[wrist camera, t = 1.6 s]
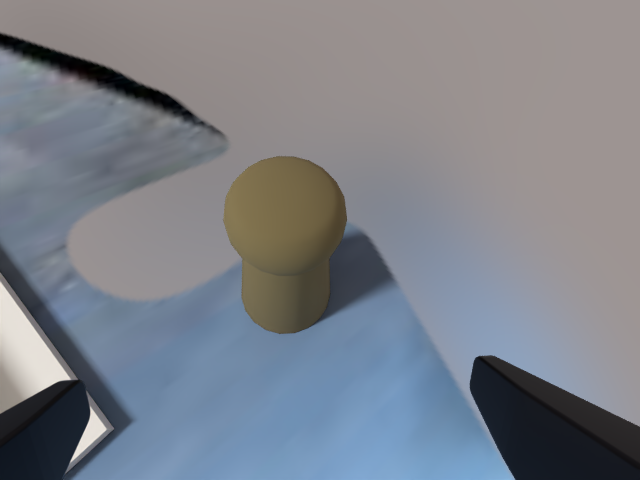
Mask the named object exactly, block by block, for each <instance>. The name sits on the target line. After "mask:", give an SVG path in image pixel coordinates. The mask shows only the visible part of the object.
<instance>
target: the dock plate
mask: <svg viewBox="0 0 640 480" xmlns="http://www.w3.org/2000/svg"><path fill="white" fill-rule="evenodd" d="M62 380H78V378H77V377H76V376H75V374H74V373H73V371H72V370H71V369H70V367H69V366H68V365H67V363H66V362H65V360H64V359H63V358H62V356H61V355H60V354H59V352H58V351H57V350H56V348H55V347H54V345H53V344H52V343H51V341H50V340H49V339H48V337H47V336H46V334H45V333H44V332H43V330H42V329H41V328H40V326H39V325H38V323H37V322H36V321H35V319H34V318H33V317H32V315H31V314H30V312H29V311H28V310H27V308H26V307H25V306H24V304H23V303H22V301H21V300H20V299H19V297H18V296H17V295H16V293H15V292H14V290H13V289H12V288H11V286H10V285H9V284H8V282H7V281H6V280H5V278H4V277H3V275H2V274H1V273H0V413H2V412H4V411H6V410H8V409H9V408H11V407H13V406H15V405H17V404H18V403H20V402H22V401H24V400H26V399H27V398H29V397H31V396H33V395H35V394H36V393H38V392H40V391H42V390H44V389H45V388H47V387H49V386H51V385H53V384H54V383H56V382H58V381H62ZM86 392H87V391H86ZM87 396H88V401H89V405H90V411H91V413H90V419H89V422H88V425H87V427H86V429H85V431H84V433H83V435H82V438H81V440H80V442H79V444H78V446H77V449H76V451H75V453H74V455H73V457H72V459H71V462H70V464H69V466H68V468H67V470H66V473H67V472H68V471H69V470H70V469H71V468H72V467H73V466H75V465H76V464H77V463H78V462H79V461H80V460H81V459H82V458H83V457H84V456H85V455H86V454H88V453H89V452H90V451H91V450H92V449H93V448H94V447H95V446H96V445H97V444H98V443H99V442H101V441H102V440H103V439H104V438H105V437H106V436H107V435H108V434H109V433H110V432H111V431H112V430H114V428H113V426H112V425H111V424H110V422H109V421H108V420H107V418H106V417H105V415H104V414H103V413H102V411H101V410H100V409H99V407H98V406H97V404H96V403H95V402H94V400H93V399H92V398H91V396H90V395H89V393H88V392H87ZM66 473H65V474H66Z"/></svg>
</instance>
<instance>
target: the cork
mask: <svg viewBox="0 0 640 480" xmlns="http://www.w3.org/2000/svg"><path fill="white" fill-rule="evenodd" d="M223 221H224V224H225V227H226V231H227V234H228V237H229V240H230V243H231V245H232V246H233V247H234V248H235V250H236V251H237V252H238V254H239V255H240V256H241V257H242V300H243V304H244V307H245V310H246V312H247V313H248V315H249V316H250V317H251V319H252V320H253V321H254V322H255V323H256V324H258V325H259V326H261V327H262V328H264V329H265V330H268V331H272V332H275V333H279V334H285V333H296V332H299V331H301V330H304V329H307V328H309V327H310V326H311V325H312V324H314V323H315V322H316V321H317V320H319V319H320V317H321V316H322V314H323V313H324V311H325V309H326V308H327V305H328V301H329V297H330V266H329V258H330V257H331V256H332V254H333V253H334V251H335V250H336V248H337V247H338V245H339V244H340V243H341V240H342V237H343V234H344V230H345V226H346V222H347V216H346V207H345V199H344V196H343V194H342V192H341V190H340V188H339V186H338V184H337V182H336V181H335V180H334V179H333V178H332V177H331V176H330V175H329V174H328V173H327V172H326V171H325V170H324V169H323V168H321V167H319V166H318V165H316V164H314V163H312V162H311V161H309V160H305V159H300V158H297V157H282V156H281V157H280V156H278V157H273V158H268V159H264V160H261V161H259V162H257V163H255V164H253V165H251V166H250V167H248V168H247V169H246V170H245V171H244V172H243V173H242V174H241V175H240V176H239V177H238V178H237V179H236V180H235V181H234V182H233V184H232V186H231V188H230V190H229V192H228V194H227V196H226V200H225V209H224V220H223Z"/></svg>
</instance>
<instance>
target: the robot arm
mask: <svg viewBox="0 0 640 480" xmlns="http://www.w3.org/2000/svg"><path fill="white" fill-rule="evenodd" d="M470 391H471V394H472V396H473V398H474V400H475V402H476V404H477V406H478V409H479V411H480V412H481V415H482V417H483V419H484V421H485V423H486V425H487V427H488V429H489V431H490V433H491V435H492V437H493V439H494V441H495V443H496V446H497V448H498V449H499V451H500V453H501V455H502V457H503V459H504V461H505V463H506V464H507V466H508V468H509V470H510V471H511V473H512V475H513V476H514V478H515V480H640V427H639V426H637V425H635V424H633V423H631V422H629V421H627V420H625V419H623V418H621V417H619V416H616V415H614V414H612V413H610V412H608V411H606V410H604V409H602V408H600V407H598V406H596V405H594V404H592V403H590V402H588V401H586V400H584V399H581V398H579V397H577V396H575V395H573V394H571V393H569V392H567V391H565V390H563V389H561V388H559V387H557V386H555V385H553V384H551V383H549V382H546V381H545V380H543V379H540V378H538V377H536V376H534V375H532V374H530V373H528V372H526V371H524V370H522V369H520V368H518V367H516V366H513V365H512V364H510V363H508V362H506V361H503V360H501V359H499V358H497V357H495V356H491V355H490V356H478V357H476V358H475V360H474V363H473V369H472V374H471V380H470ZM90 413H91V411H90V405H89V401H88V396H87V392H86V388H85V384H84V382H83V381H82V380H62V381H58V382H56V383H54V384H53V385H51V386H49V387H47V388H45V389H44V390H42V391H40V392H38V393H36V394H35V395H33V396H31V397H29V398H27V399H26V400H24V401H22V402H20V403H18V404H17V405H15V406H13V407H11V408H9V409H8V410H6V411H4V412H2V413H0V480H62V479H63V477H64V475H65V473H66V470H67V468H68V466H69V464H70V462H71V459H72V457H73V455H74V453H75V451H76V449H77V446H78V444H79V442H80V440H81V438H82V435H83V433H84V431H85V429H86V427H87V425H88V422H89V419H90Z"/></svg>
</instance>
